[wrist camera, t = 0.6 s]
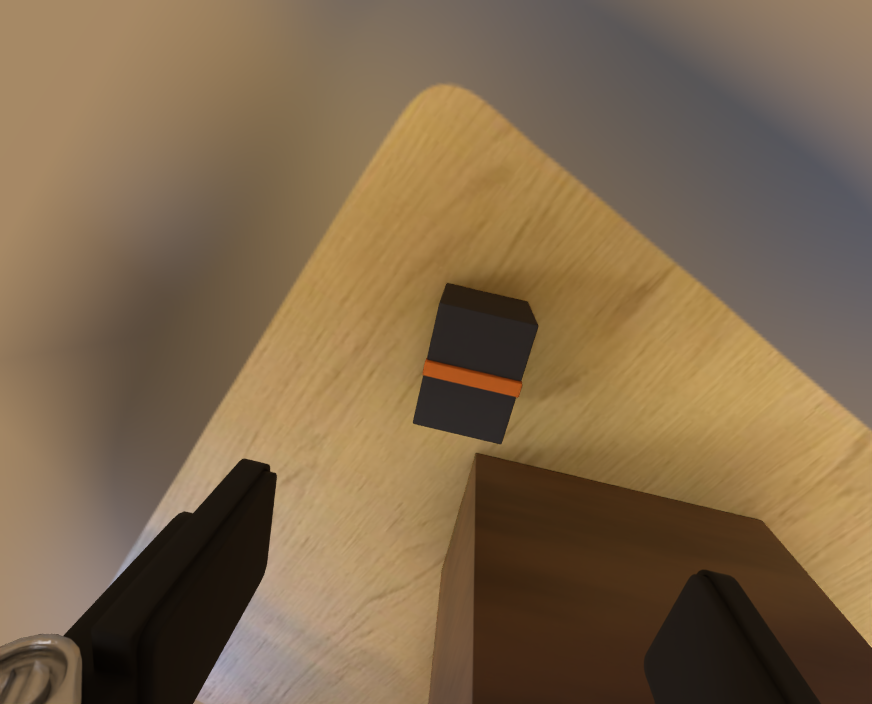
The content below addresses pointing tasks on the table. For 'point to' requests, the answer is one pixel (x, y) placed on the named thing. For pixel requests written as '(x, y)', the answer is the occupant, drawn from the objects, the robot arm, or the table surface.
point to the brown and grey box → (608, 592)
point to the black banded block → (475, 363)
